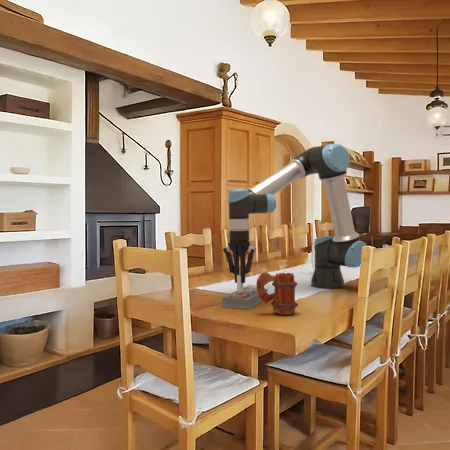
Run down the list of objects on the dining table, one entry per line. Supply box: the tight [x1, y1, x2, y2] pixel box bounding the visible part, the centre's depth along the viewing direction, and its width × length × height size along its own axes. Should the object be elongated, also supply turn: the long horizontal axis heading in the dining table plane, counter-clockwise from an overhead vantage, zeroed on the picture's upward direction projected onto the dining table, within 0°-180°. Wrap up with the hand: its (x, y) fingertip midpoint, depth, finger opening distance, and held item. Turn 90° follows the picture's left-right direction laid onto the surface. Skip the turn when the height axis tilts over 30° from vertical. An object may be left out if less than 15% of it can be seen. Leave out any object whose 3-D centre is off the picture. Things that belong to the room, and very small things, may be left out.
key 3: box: [231, 293, 248, 299], centre depth 175 cm, size 5×5×3 cm
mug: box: [255, 271, 299, 316], centre depth 162 cm, size 15×8×15 cm, turn 92°
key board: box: [221, 286, 268, 310], centre depth 181 cm, size 11×22×4 cm, turn 156°
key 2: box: [238, 288, 254, 295], centre depth 181 cm, size 5×5×3 cm
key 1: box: [243, 284, 258, 292], centre depth 186 cm, size 5×5×3 cm
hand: (240, 291), depth 175 cm, fingers closed
